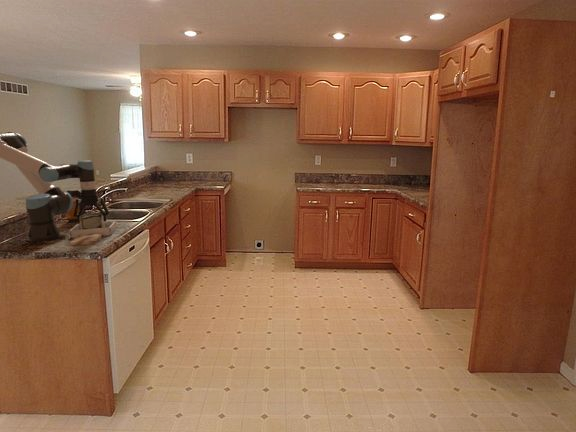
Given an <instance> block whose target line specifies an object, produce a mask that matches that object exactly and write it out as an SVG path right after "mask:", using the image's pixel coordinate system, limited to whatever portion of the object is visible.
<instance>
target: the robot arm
mask: <svg viewBox="0 0 576 432" xmlns="http://www.w3.org/2000/svg"><path fill="white" fill-rule="evenodd" d="M28 150H29V149H28V144H27V140H26V138H25V137H24V136H23V135H22V134H20V133H18V132H11V131H6V132H0V159H2V160H4V161H6V162H9V163H11V164H13V165H15V166H16V167H17V169H18V170H19V171H20V172H21V173H22V175H23V176H24V177H25V178H26V180H27V181H28V182H29V183H30V185H31V186H32V187H33V188H34V189H35V190H36V192H37V193H38V194H33V195H31V196H28V197H27V198H26V199H25V208H26V213H27V220H28V224H29V226H28V232H27V237H26V238H27V241H28V242H29V241H30V242H31V243H38V242H39V243H40V242H41V243H42V242H49V241H54V240H56V239H59V238H60V237H61V232H60V230H59V228H58V226H57V224H56V223H55V217H56V216H59V215H62V214H65V213H66V214H67V212H68V211H70V210H71V209H72V207H73V198H72V196H71V195H70V194H69V193H67V191H63V190H62V189H61V188H60V187H59V186H55V185H54V184H53V183H54V182H56V181H62V180H67V179H78V180H79V185H80V189H81V190H80V192H81V195H82V198H81V199H76V206H75V210H74V214H73V216H74V217H77V219H78V222H77V224H80V227H81V229H83V226H82V222H81V221H80V216H81V214H82V212H83V210H84V211H85V209H86V207H89V206H90V207H92V206H94V207H95V208H96V209H97V211H99V213H101V214H102V225H103V228H104V227H105V222H107V216H108V215H109V214H110V212H109V209H108V207H107V205H106V203H105V200H104V199H105V198H104V197H98V194H97V186H96V178H95V167H94V162H93V160H89V159H88V160H84V159H83V160H78V161H77V164H75V163H74V164H73V163H69V164H68V163H64V164H59V165H52V164H50V163H48V162H45V161H43V160H41V159H39V158H36V157H34V156H33V155H30V154H29V152H28ZM52 182H53V183H52ZM81 201H82V202H83V206H82V208H81V210H80V212H79V213H78V214H77V212H78V208H79V204H80V202H81ZM98 201H99V203H100V204H101V206H100V205H99V203H98Z"/></svg>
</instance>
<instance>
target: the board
mask: <svg viewBox="0 0 576 432" xmlns="http://www.w3.org/2000/svg"><path fill="white" fill-rule="evenodd" d="M102 237H103V236H102V233H100V234H88V235H78V236H77V237H75V238H72V240H71V241H70V242H69V245H70V246H71V247H72V246H81V245H93V244H97V243H98V242H99V240H100V239H101V238H102Z"/></svg>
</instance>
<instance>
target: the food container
mask: <svg viewBox="0 0 576 432" xmlns="http://www.w3.org/2000/svg"><path fill="white" fill-rule="evenodd" d="M80 221H81V222H82V226H83V229H96V228H102V214H101V213H100V212H95V213H93V212H92V213H85V214H84V215H81V216H80Z"/></svg>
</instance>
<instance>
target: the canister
mask: <svg viewBox="0 0 576 432" xmlns="http://www.w3.org/2000/svg"><path fill="white" fill-rule="evenodd" d="M66 192H67V193H69V194H70V195H71V196H72V198H73V207H72V209H71V210H70V211H68V212H66V217H67V221H68V222H71V223H78V219H77V217H74V216H73V214H74V210H75V206H76V199H81V198H82V195H81V191H79V190H77V189H76V190H67V191H66ZM83 204H84V203H83V202H82V201H81V202H80V204H79V208H78V212H77V214H78V213H79V212H80V210H81V208H82V206H83ZM85 214H86V212H85V209H84V210H83V212H82V214H81V215H85Z"/></svg>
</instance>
